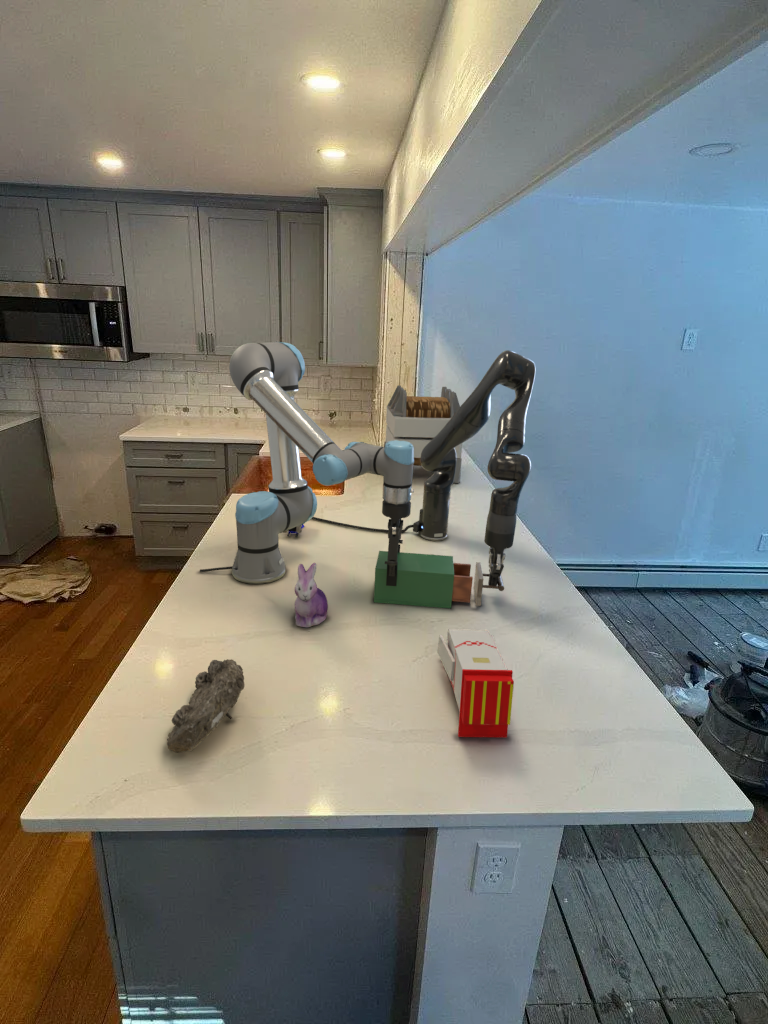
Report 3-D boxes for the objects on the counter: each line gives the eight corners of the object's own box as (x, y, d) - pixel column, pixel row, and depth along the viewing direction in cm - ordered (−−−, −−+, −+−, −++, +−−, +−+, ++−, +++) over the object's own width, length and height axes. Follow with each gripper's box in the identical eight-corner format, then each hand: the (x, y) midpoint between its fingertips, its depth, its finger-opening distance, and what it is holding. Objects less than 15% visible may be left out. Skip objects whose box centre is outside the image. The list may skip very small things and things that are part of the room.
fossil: (192, 660, 117) (244, 628, 112) (224, 691, 120) (276, 661, 115) (142, 746, 98) (202, 712, 93) (182, 779, 101) (242, 748, 96)
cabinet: (449, 588, 162) (452, 556, 159) (451, 608, 151) (454, 574, 148) (377, 582, 164) (379, 550, 160) (373, 602, 153) (375, 568, 149)
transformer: (382, 463, 289) (386, 382, 275) (445, 464, 293) (451, 384, 279) (390, 482, 257) (394, 392, 243) (460, 483, 261) (468, 394, 247)
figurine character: (302, 543, 191) (306, 522, 205) (301, 523, 188) (306, 503, 202) (282, 542, 191) (288, 522, 205) (281, 522, 188) (287, 503, 201)
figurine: (299, 632, 137) (299, 576, 132) (286, 613, 145) (285, 559, 140) (336, 624, 141) (336, 570, 136) (320, 605, 149) (321, 553, 144)
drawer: (498, 590, 161) (501, 563, 158) (502, 608, 151) (506, 580, 148) (409, 583, 162) (411, 557, 159) (407, 600, 152) (409, 573, 150)
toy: (488, 613, 130) (523, 677, 101) (484, 667, 133) (517, 744, 104) (435, 612, 130) (455, 676, 101) (432, 666, 133) (451, 743, 103)
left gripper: (409, 517, 137) (404, 596, 144) (412, 487, 160) (408, 558, 167) (378, 514, 138) (375, 594, 145) (386, 486, 160) (382, 556, 167)
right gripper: (518, 538, 142) (509, 599, 148) (511, 520, 155) (503, 577, 161) (488, 535, 143) (480, 596, 149) (484, 517, 155) (476, 574, 161)
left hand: (392, 575), depth 156 cm, fingers closed on cabinet, 12 cm apart
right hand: (492, 586), depth 155 cm, fingers closed
